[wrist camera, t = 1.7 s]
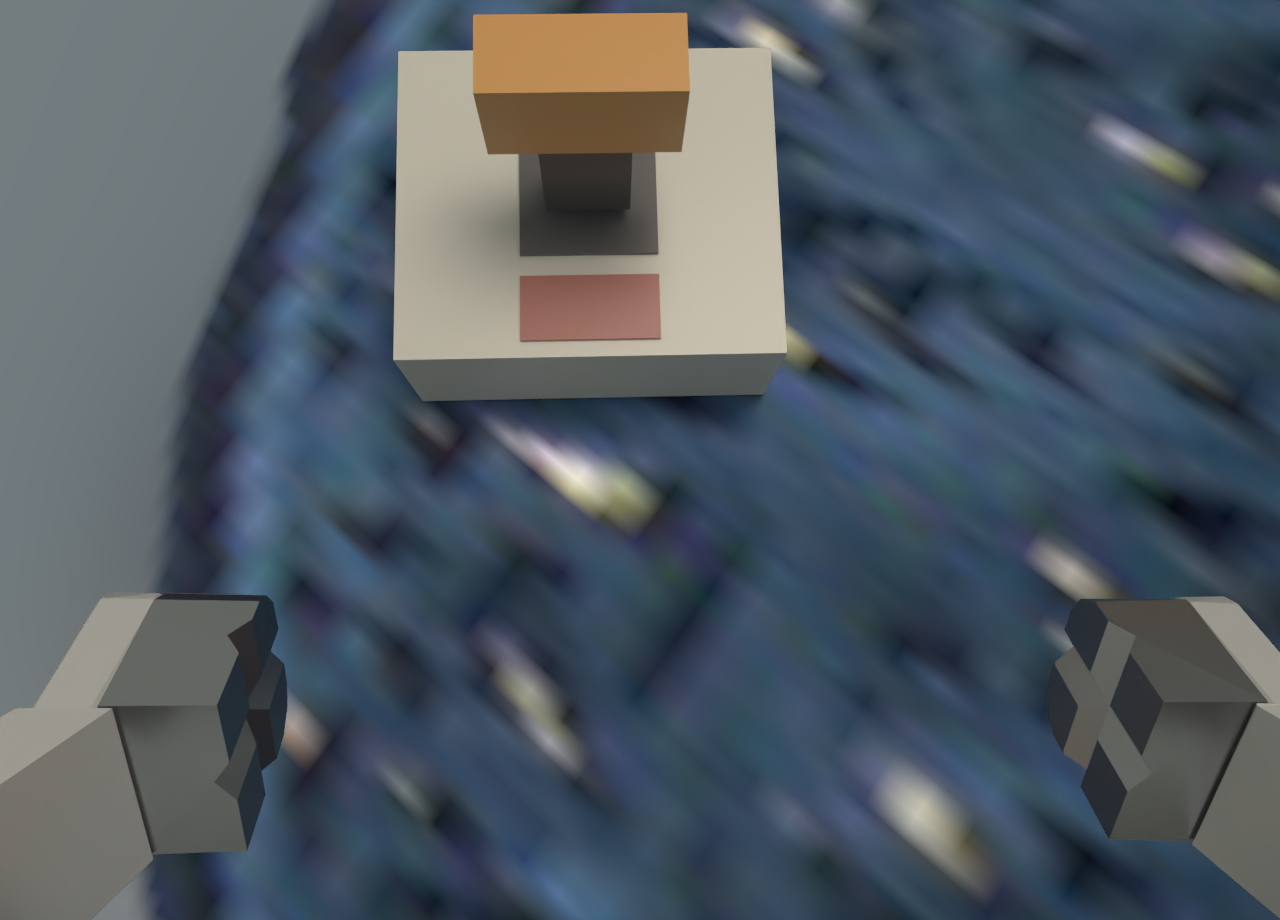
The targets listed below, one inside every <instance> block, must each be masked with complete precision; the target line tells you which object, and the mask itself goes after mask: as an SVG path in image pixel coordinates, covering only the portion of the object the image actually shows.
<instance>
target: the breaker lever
mask: <svg viewBox="0 0 1280 920" xmlns="http://www.w3.org/2000/svg"><path fill="white" fill-rule="evenodd" d="M689 94H690V79H689V53H688V28H687V13H620V14H504V15H473V95H474V99H475V104H476V108H477V112H478V116H479V120H480V124H481V128H482V132H483V137H484V141H485V145H486V149H487V153H488V155H490V154H538V157H539V164H540V171H541V178H542V185H543V192H544V199H545V206H546V211H551V210H621V209H630V201H631V177H632V153H648V152H682V145H683V138H684V131H685V123H686V116H687V109H688V102H689Z"/></svg>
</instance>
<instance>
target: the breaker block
mask: <svg viewBox="0 0 1280 920" xmlns="http://www.w3.org/2000/svg"><path fill="white" fill-rule="evenodd" d="M688 53H689V79H690V94H689V102H688V109H687V116H686V123H685V131H684V138H683V145H682V152H648V153H632V177H631V201H630V209H621V210H551V211H546V206H545V199H544V192H543V185H542V178H541V171H540V164H539V157H538V154H490V155H488V153H487V149H486V145H485V141H484V137H483V132H482V128H481V124H480V120H479V116H478V112H477V108H476V104H475V99H474V95H473V51H398V111H397V170H396V229H395V289H394V348H393V360H394V362H395V363H396V365H397V366H398V367H399V369H400V370H401V372H402V373H403V374H404V376H405V377H406V379H407V380H408V381H409V383H410V384H411V386H412V387H413V388H414V390H415V391H416V393H417V394H418V395H419V397H420V398H421V400H422V401H459V400H509V399H560V398H611V397H661V396H712V395H762V394H764V393H765V391H766V389H767V388H768V386H769V384H770V382H771V380H772V379H773V377H774V375H775V373H776V372H777V370H778V368H779V366H780V364H781V363H782V361H783V359H784V357H785V356H786V354H787V343H786V324H785V306H784V288H783V270H782V251H781V233H780V215H779V197H778V179H777V160H776V142H775V124H774V106H773V87H772V69H771V51H770V48H699V49H688Z"/></svg>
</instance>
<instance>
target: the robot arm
mask: <svg viewBox="0 0 1280 920" xmlns="http://www.w3.org/2000/svg"><path fill="white" fill-rule="evenodd" d="M277 631H278V625H277V620H276V614H275V609H274V604H273V602H272V601H271V600H270V599H269V598H268V597H267V596H266V595H228V594H188V593H164V594H159V593H110V594H108V595H106V596H105V597H103V598H101V599H100V600H99V601H98V602H97V604H96V606H95V607H94V609H93V611H92V612H91V614H90V615H89V617H88V619H87V620H86V622H85V623H84V625H83V627H82V628H81V630H80V632H79V633H78V635H77V636H76V638H75V640H74V642H73V643H72V645H71V646H70V648H69V649H68V651H67V653H66V654H65V656H64V658H63V659H62V661H61V662H60V664H59V666H58V667H57V669H56V671H55V672H54V674H53V675H52V677H51V679H50V680H49V682H48V684H47V685H46V687H45V688H44V690H43V692H42V693H41V695H40V697H39V698H38V700H37V701H36V703H35V705H34V706H33V708H21V709H20V708H16V709H14V710H12V711H11V712H9V713H7V714H6V715H4V716H2V717H1V718H0V920H92V919H93V918H94V917H95V916H96V915H97V914H98V913H99V912H100V911H101V910H102V909H103V908H104V907H105V906H106V905H107V904H108V903H109V902H110V901H111V900H112V899H113V898H114V897H115V896H116V895H117V894H118V893H119V892H120V891H121V890H122V889H123V888H124V887H126V886H127V885H128V883H130V882H131V881H132V880H133V879H134V878H135V877H136V876H137V875H138V874H139V873H140V872H141V871H142V870H143V869H144V868H145V867H146V866H147V865H148V864H149V863H150V862H151V861H152V860H153V856H152V854H172V853H197V852H222V851H247V850H248V847H249V843H250V840H251V837H252V834H253V831H254V828H255V825H256V822H257V819H258V816H259V813H260V809H261V806H262V803H263V800H264V797H265V789H264V783H263V778H262V772H261V771H262V770H263V769H264V768H265V767H267V766H268V765H269V764H270V763H272V762H273V761H274V760H275V759H277V756H278V752H279V749H280V746H281V742H282V739H283V735H284V728H285V720H286V713H287V681H286V674H285V667H284V663H283V662H281V661H280V660H279V659H278V658H277V657H276V656H275V655H274V654H273V653H272V652H271V648H272V645H273V642H274V640H275V637H276V634H277ZM1065 631H1066V633H1067V635H1068V637H1069V639H1070V640H1071V642H1072V644H1073V646H1074V647H1072V648H1071V649H1070V650H1069V651H1068V652H1067V653H1065V654H1064V655H1063V656H1062V657H1061V658H1059V659H1058V660H1057V661H1056V662H1055V663H1054V665H1053V669H1052V672H1051V676H1050V680H1049V683H1048V687H1047V701H1048V716H1049V720H1050V724H1051V727H1052V731H1053V734H1054V736H1055V738H1056V740H1057V742H1058V744H1059V746H1060V748H1061V750H1062V752H1063V753H1064V754H1065V755H1067V756H1068V757H1069V758H1071V759H1072V760H1074V761H1075V762H1077V763H1078V764H1079V765H1081V766H1082V767H1084V768H1085V769H1086V773H1085V776H1084V779H1083V782H1082V785H1081V788H1082V790H1083V792H1084V794H1085V796H1086V797H1087V799H1088V801H1089V803H1090V805H1091V807H1092V809H1093V810H1094V812H1095V814H1096V816H1097V818H1098V820H1099V822H1100V823H1101V825H1102V827H1103V829H1104V831H1105V833H1106V835H1107V836H1108V838H1109V839H1117V840H1184V841H1193V844H1192V845H1193V846H1194V847H1196V848H1197V849H1198V850H1199V851H1200V852H1201V853H1203V854H1204V855H1205V856H1206V857H1207V858H1209V859H1210V860H1211V861H1212V862H1213V863H1215V864H1216V865H1217V866H1218V867H1219V868H1220V869H1222V870H1223V871H1224V872H1225V873H1226V874H1228V875H1229V876H1230V877H1231V878H1232V879H1233V880H1235V881H1236V882H1237V883H1238V884H1239V885H1241V886H1242V887H1243V888H1244V889H1245V890H1246V891H1248V892H1249V893H1250V894H1251V895H1252V896H1254V897H1255V898H1256V899H1257V900H1258V901H1260V902H1261V903H1262V904H1263V905H1264V906H1265V907H1267V908H1268V909H1269V910H1270V911H1271V912H1273V913H1274V914H1275V915H1276V916H1277V917H1278V918H1280V652H1279V651H1278V650H1277V649H1276V648H1275V647H1274V645H1273V644H1272V643H1271V642H1270V641H1269V640H1268V638H1267V637H1266V636H1265V635H1264V634H1263V633H1262V632H1261V630H1260V629H1259V628H1258V627H1257V626H1256V625H1255V623H1254V622H1253V621H1252V620H1251V619H1250V618H1249V616H1248V615H1247V614H1246V613H1245V612H1244V611H1243V609H1242V608H1241V607H1240V606H1239V605H1238V604H1237V603H1236V602H1234V601H1232V600H1230V599H1228V598H1226V597H1224V596H1215V597H1176V598H1174V599H1080V600H1079V602H1078V603H1077V604H1076V605H1075V606H1074V608H1073V609H1072V610H1071V613H1070V616H1069V619H1068V622H1067V624H1066V627H1065Z"/></svg>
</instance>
